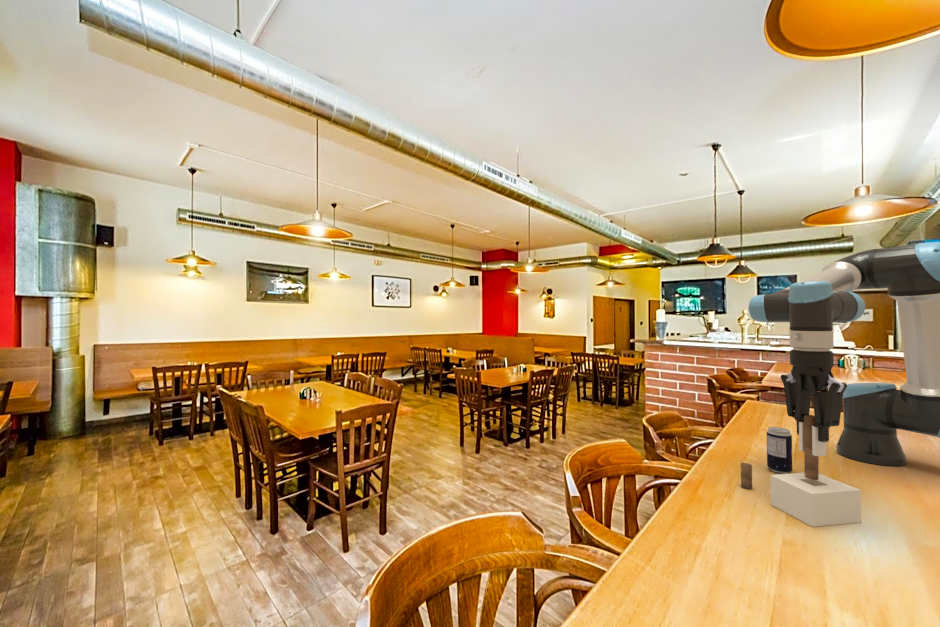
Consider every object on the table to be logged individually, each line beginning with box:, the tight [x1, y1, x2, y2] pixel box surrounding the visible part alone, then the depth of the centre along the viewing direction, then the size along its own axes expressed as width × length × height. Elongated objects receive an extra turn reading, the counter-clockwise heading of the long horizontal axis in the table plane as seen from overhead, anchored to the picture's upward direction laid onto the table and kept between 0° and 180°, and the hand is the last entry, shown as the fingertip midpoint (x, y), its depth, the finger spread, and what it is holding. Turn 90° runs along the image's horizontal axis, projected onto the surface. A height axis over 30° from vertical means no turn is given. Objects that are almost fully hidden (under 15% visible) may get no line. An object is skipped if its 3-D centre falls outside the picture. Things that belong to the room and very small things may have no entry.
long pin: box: [803, 414, 820, 480], centre depth 89 cm, size 2×2×14 cm
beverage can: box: [766, 426, 793, 474], centre depth 112 cm, size 6×6×12 cm
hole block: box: [769, 472, 862, 528], centre depth 89 cm, size 12×10×7 cm
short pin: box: [740, 462, 753, 490], centre depth 102 cm, size 2×2×6 cm
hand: (812, 452), depth 89 cm, fingers closed on long pin, 2 cm apart
